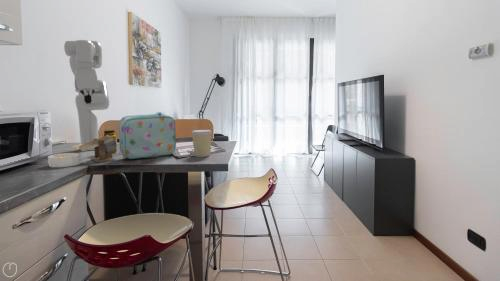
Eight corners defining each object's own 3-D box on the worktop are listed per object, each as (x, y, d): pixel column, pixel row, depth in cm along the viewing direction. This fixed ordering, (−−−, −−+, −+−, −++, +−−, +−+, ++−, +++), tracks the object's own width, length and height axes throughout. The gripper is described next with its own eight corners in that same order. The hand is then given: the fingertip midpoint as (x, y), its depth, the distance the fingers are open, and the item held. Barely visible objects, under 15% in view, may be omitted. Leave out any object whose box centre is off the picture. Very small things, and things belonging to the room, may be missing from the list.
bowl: (46, 164, 160) (45, 155, 160) (76, 160, 168) (76, 152, 167) (52, 168, 151) (51, 158, 150) (83, 164, 158) (83, 155, 158)
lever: (76, 156, 175) (71, 144, 173) (105, 145, 183) (101, 133, 181) (85, 161, 162) (80, 147, 160) (117, 148, 170) (112, 135, 168)
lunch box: (171, 152, 187) (168, 111, 184) (179, 154, 179) (177, 111, 176) (118, 158, 172) (115, 113, 169) (125, 161, 163) (122, 114, 161)
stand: (91, 159, 171) (89, 139, 170) (107, 157, 176) (106, 137, 175) (98, 162, 163) (96, 140, 161) (115, 160, 167) (113, 139, 166)
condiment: (120, 152, 190) (118, 130, 188) (103, 155, 184) (102, 131, 182) (114, 151, 195) (112, 129, 193) (98, 153, 189) (96, 130, 188)
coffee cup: (213, 153, 179) (212, 129, 178) (210, 156, 170) (209, 131, 169) (195, 153, 180) (194, 129, 179) (190, 157, 171) (189, 131, 169)
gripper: (98, 66, 185) (101, 102, 188) (66, 66, 176) (70, 103, 179) (103, 66, 179) (105, 103, 182) (70, 65, 170) (73, 104, 173)
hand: (88, 103), depth 180 cm, fingers closed
